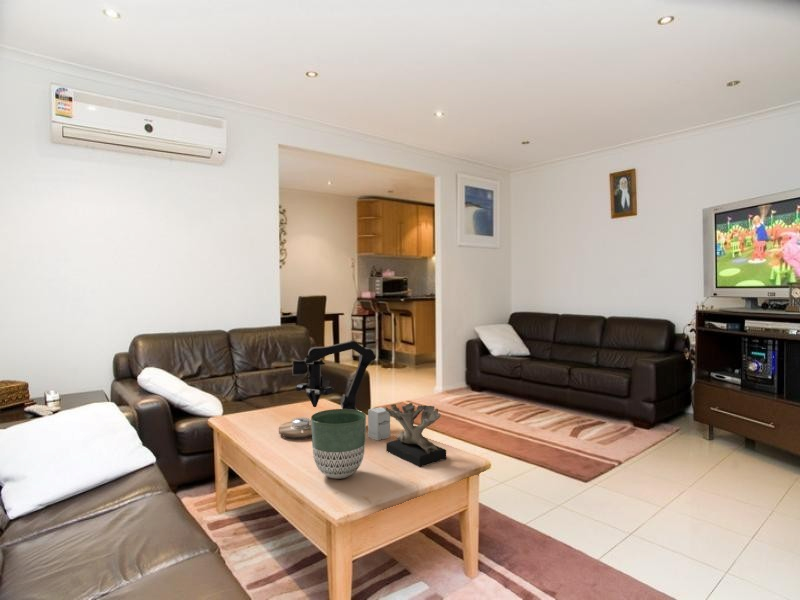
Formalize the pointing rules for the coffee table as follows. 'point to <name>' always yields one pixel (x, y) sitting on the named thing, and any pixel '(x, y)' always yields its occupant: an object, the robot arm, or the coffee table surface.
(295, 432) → the turntable
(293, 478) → the coffee table surface
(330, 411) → the planter
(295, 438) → the turntable base
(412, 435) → the coral
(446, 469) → the coffee table surface
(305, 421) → the cover
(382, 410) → the supplement box
